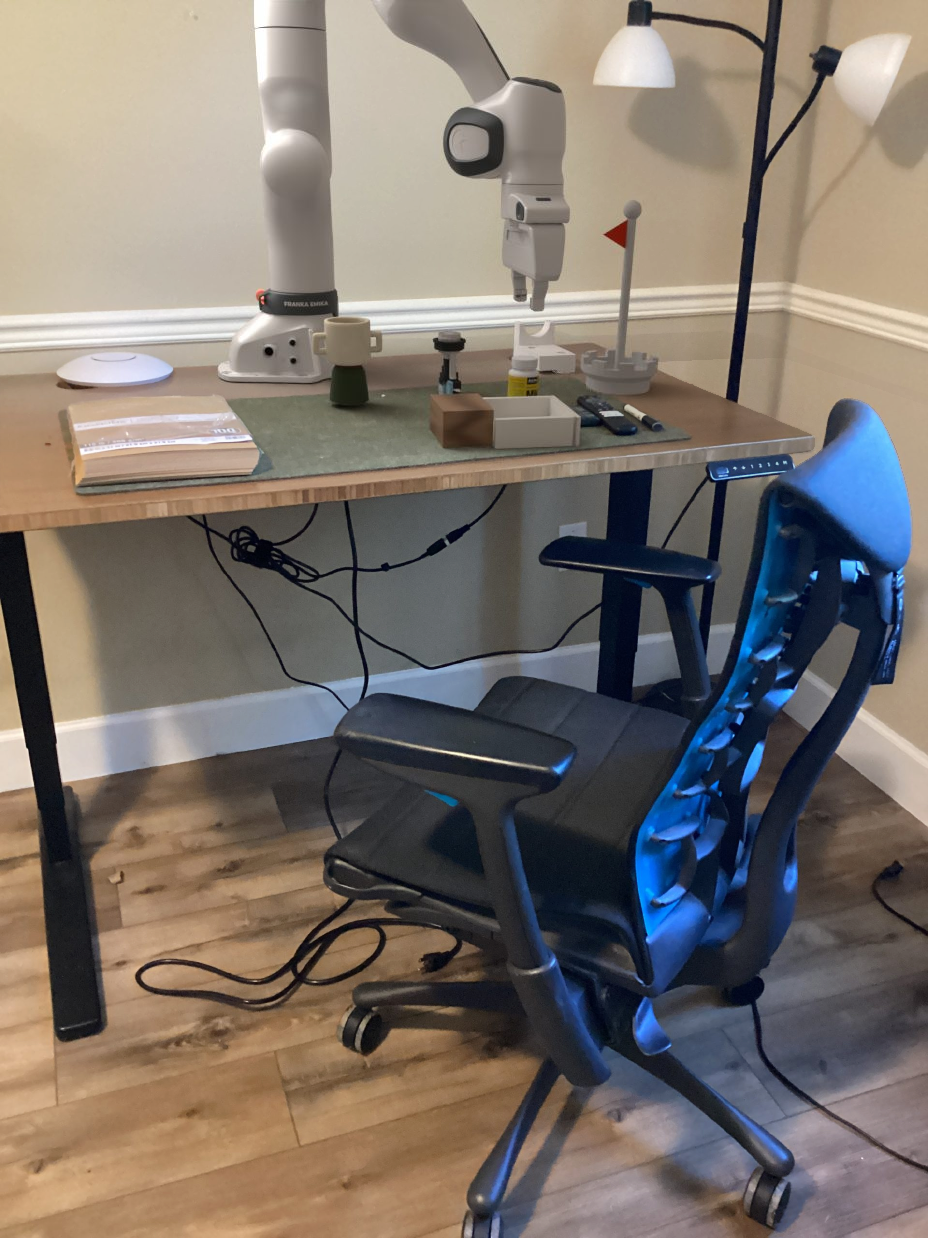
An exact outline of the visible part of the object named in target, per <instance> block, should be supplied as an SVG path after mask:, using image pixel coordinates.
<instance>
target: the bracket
mask: <svg viewBox="0 0 928 1238" xmlns="http://www.w3.org/2000/svg"><path fill="white" fill-rule="evenodd" d="M525 326H526V325H525V323H524V322H522V321H516V320H515V321H514V334H513V335H514V336H513V356H519V355H526V356H534V357H537V358H538V366H537V368H536V370H537V371H538V372H543V371H544V372H545V371H546V372H547V371H551V370H553V371H555V372H558V373H559V372H575V373H576V360H577V354H575V353H573V352H571V351H569V350H567V349H565V348H563V347H560V346H558V345H556V344H555V326H556V322H555V321H552V320H549V319H547V320H546V319H545V320H544V324H543V326H542V328H541V330H540V331H538V332H537V333H535V334H529V333H528V332H527V329H526V327H525ZM513 356H512V357H513ZM553 371H552V372H553ZM555 372H554V373H555Z"/></svg>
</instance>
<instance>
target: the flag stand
mask: <svg viewBox="0 0 928 1238" xmlns="http://www.w3.org/2000/svg"><path fill="white" fill-rule="evenodd" d="M622 211H623V215H624V216H625V218H626V220H624V221H622V222H621V223H619V224H618V225H616V226H614V227H613V228H611V229H609V230H607V231H606V232H604V233H603V234H602V235H603V236H605V237H606V238H607V239H609V240H611V241H612V242H614V243H616V244H617V245H618V246H620V247H622V249H623V250H624V251H623V252H624V253H623V262H622V274H621V275H622V276H621V287H620V296H619V297H620V299H619V309H618V311H619V312H618V320H617V321H618V322H617V323H618V324H617V335H616V348H607V349H606V348H605V354H604V355H598V352H599V351H598V350H595V349H593V350H587V351H585V352H584V354H580V355H581V357H580V370H581V372H582V373H584V374H585V384H586V385H587V386H588V387H590V388H592V389H594V390H597V391H599V392H602V393H601V394H606V395H613V396H614V395H615V396H616V395H617V396H632V395H641V394H646V393H647V392H649V391H650V388H651V387H650V386H651V379H652V378H653V377H654V376H656V375H657V374H658V367H659V357H658V356H657V355H654V354H653V355H649V356H648V357H649V358H648V359H647V355H648V353H647V352H645V351H639V350H632V352H631V356H626V355H625V353H626V343H627V332H628V321H629V320H628V318H629V311H630V307H629V306H630V297H631V296H630V295H631V285H632V275H633V274H632V273H633V265H634V264H633V262H634V254H635V253H634V251H635V240H636V239H635V238H636V228H637V227H636V226H637V220H638V218H639V217H640V216H641V214H642V211H643V209H642V204H641V203H640V202H639V201H638V200H635V199H632V200H631V199H630V200H628V201H627V202H625V204H624V206H623V210H622ZM585 384H584V385H585ZM599 392H598V393H599Z"/></svg>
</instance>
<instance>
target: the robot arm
mask: <svg viewBox="0 0 928 1238" xmlns="http://www.w3.org/2000/svg"><path fill="white" fill-rule="evenodd" d="M253 1H254V3H253V5H254V6H253V10H254V11H253V13H254V14H253V15H254V16H253V17H254V39H255V53H256V70H257V88H258V93H259V102H260V108H261V109H260V110H261V118H262V127H263V137H264V138H263V139H264V145H263V148H262V149H261V152H260V155H259V175H260V176H259V177H260V187H261V188H260V189H261V197H262V198H261V199H262V208H263V216H264V224H265V225H264V226H265V233H266V242H267V256H268V259H267V260H268V271H269V272H268V275H269V277H268V278H269V288H268V289H266V290H265V289H263V288H259V289H257V290H256V292H255V294H254V295H255V298H256V300H257V301H258V305H259V306H258V309H259V311H260V312H259V313H257V314H256V315H255V316H253V317H252V318H251V319H250V320H249V321H248V322H247V323H246V324H244V325H243V326H242V327H241V328H240V329H239V330H237V331H236V332H235V333H234V335H233V336H232V338H231V341H230V346H229V350H228V351H229V352H228V353H229V354H228V355H229V356H228V360H226V361H223V362H221V363H220V364H219V365H218V367H217V375H218V377H219V378H220V379H222V380H225V381H227V382H243V383H244V382H245V383H248V382H250V383H253V382H254V383H301V384H302V383H304V384H305V383H306V384H308V383H311V384H312V383H317V382H319V381H323V380H325V379H331V376H332V370H333V367H334V366H335V364H331V363H329V362H327V359H326V357H325V355H315V354H314V353H313V343H312V336H313V334H314V333H324V320H325V319H327V318H332V317H340V313H339V311H340V308H339V307H340V306H339V295H338V291H337V289H336V286H335V261H334V260H335V259H334V257H335V255H334V254H335V253H334V252H335V251H334V250H335V249H334V235H333V220H332V219H333V216H332V215H333V213H332V203H331V202H332V197H331V196H332V195H331V193H332V192H331V177H332V173H333V154H332V137H331V136H332V135H331V131H332V130H331V119H330V118H331V114H330V98H329V97H330V94H329V71H328V44H327V41H328V40H327V39H328V38H327V21H326V0H253ZM371 2H372V4H373V7H374V9H375V11H376V12H377V14H378V16H379V17H380V19H381V21H383V23H384V24H385V25H386V27H387V28H388V29H389V30H390V32H391V33H392V34H393V35H394V36H395V37H396V38H398V39H400V40H401V41H403V42H405V43H408V44H411V45H413V46H415V47H417V48H420V49H422V50H423V51H425V52H427V53H430V54H431V55H434V56H435V57H437V58H439V59H440V60H441V61H443V62H444V63H445V64H447V66H448V67H450V68H451V69H452V70H453V71H454V72H455V74H456V75H457V76H458V77H459V79H460V81H461V82H462V84H463V86H464V87H465V89H466V91H467V93H468V95H469V96H470V98H471V99H472V100H471V101H472V102H473V103H472V104H470V105H468V106H463V107H461V108H458V109H457V110H456V111H454V112H453V113H452V114H451V116H450V117H449V119H448V121H447V122H446V124H445V128H444V131H443V136H442V146H443V153H444V158H445V160H446V162H447V163H448V166H449V167H450V169H451V170H453V172H455V174H457V175H459V176H461V177H465V178H468V179H471V180H473V179H474V180H480V179H482V180H483V179H485V180H496V179H501V186H500V187H501V191H500V193H501V194H500V197H501V198H500V218H501V219H504V223H503V230H502V231H503V234H502V248H501V249H502V250H501V260H502V265H503V266H504V267H505V268H507V269H510V271H511V273H510V277H511V283H512V289H513V290H512V291H513V297H512V298H513V300H514V301H515V302H517V303H525V302H527V299H528V289H527V282H526V281H527V278H529V279H531V287H532V289H531V297H529V309H530V310H531V311H532V312H534V313H535V312H543V311H544V310H545V301H546V300H545V299H546V296H547V294H548V290H549V283H550V282H557V281H559V279H560V277H561V274H562V271H563V264H564V263H563V262H564V255H565V246H566V225H565V224H568V223H569V222H570V218H571V215H570V214H571V209H570V206H569V205H568V203H567V201H566V199H565V195H564V184H565V182H564V181H565V180H564V175H563V160H564V156H565V152H566V145H567V111H566V102H565V97H564V92H563V90H562V89H561V87H560V86H559V85H557V84H555V83H553V82H551V81H548V80H545V79H544V80H543V79H540V78H538V79H537V78H533V77H532V78H531V77H526V76H516V77H513V78H511V77H510V75H509V74H508V72H507V71H506V69H505V66H504V65H503V63H502V61H501V60H500V58H499V56H498V55H497V53H496V51H495V49H494V48H493V46H492V43H491V42H490V41H489V38H488V37H487V36H486V34H485V32H484V30H483V29H482V28H481V25H479V23H478V21H477V20H476V19H475V17H474V15H473V14H472V12H471V11H470V10H469V9H468V7H467V4H465V2H464V1H463V0H371ZM319 348H325V339H319Z"/></svg>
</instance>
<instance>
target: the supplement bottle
mask: <svg viewBox="0 0 928 1238" xmlns="http://www.w3.org/2000/svg"><path fill="white" fill-rule="evenodd" d="M537 366H538V358H537V357H534V356H526V355H519V356H511V364H510V367H511V369H509V371H508V377H507V378H508V379H507V380H508V382H507V397H519V396H539V385H540V382H539V381H540V371H538V370H536V368H537Z"/></svg>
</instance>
